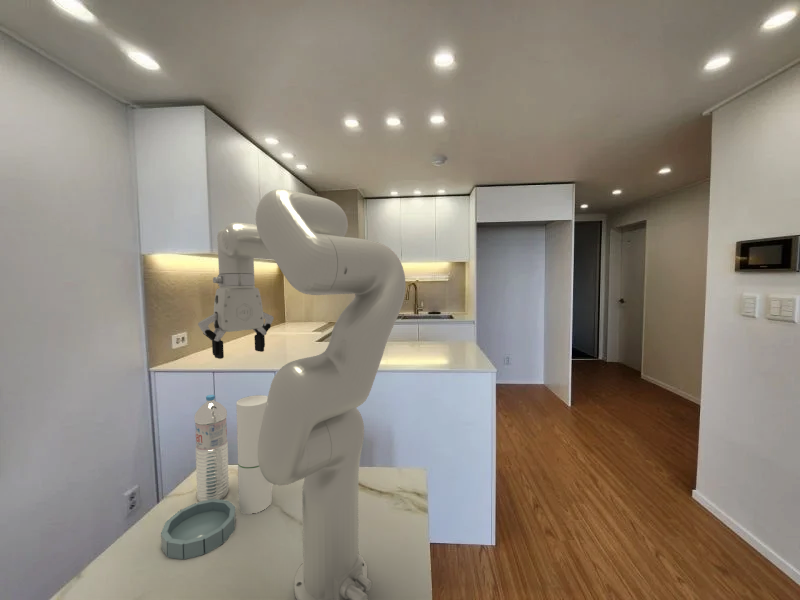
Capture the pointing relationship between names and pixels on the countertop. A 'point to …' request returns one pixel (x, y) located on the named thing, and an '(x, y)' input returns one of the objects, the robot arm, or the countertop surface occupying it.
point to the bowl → (198, 529)
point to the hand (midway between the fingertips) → (240, 354)
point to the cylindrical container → (251, 456)
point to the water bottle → (211, 450)
